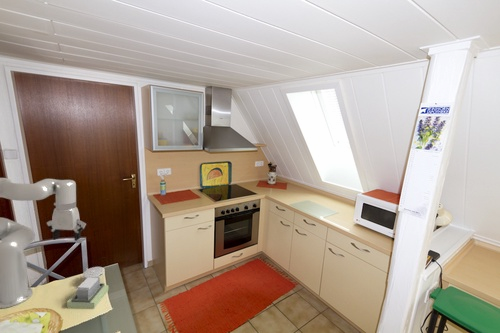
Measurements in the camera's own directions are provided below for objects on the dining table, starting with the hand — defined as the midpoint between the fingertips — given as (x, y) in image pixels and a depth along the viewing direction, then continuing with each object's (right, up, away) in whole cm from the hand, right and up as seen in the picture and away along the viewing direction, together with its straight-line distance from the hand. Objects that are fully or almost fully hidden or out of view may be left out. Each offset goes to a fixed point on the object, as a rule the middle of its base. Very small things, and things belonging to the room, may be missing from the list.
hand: (67, 238), depth 110 cm
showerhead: (+5, -28, +12) cm, 30 cm away
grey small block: (+11, -27, 0) cm, 29 cm away
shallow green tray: (+11, -30, 0) cm, 32 cm away
